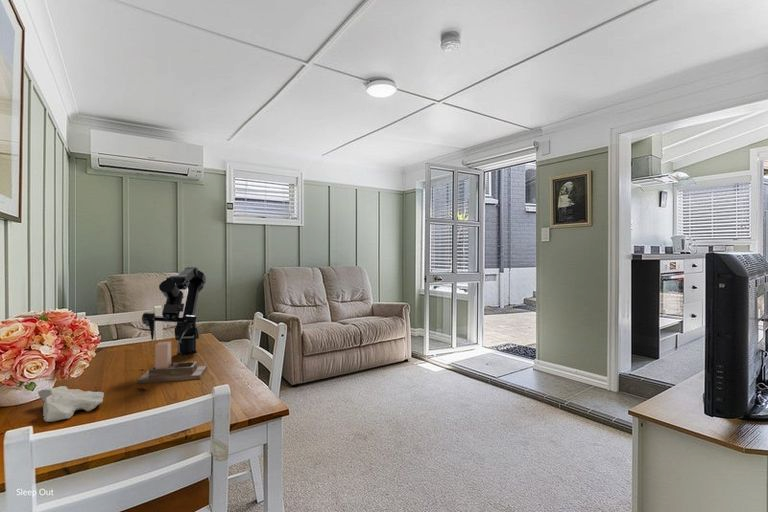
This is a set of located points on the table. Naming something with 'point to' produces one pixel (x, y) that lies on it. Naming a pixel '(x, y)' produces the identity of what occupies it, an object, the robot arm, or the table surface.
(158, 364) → the clay block
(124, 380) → the table surface
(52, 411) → the rock
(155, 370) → the rack
